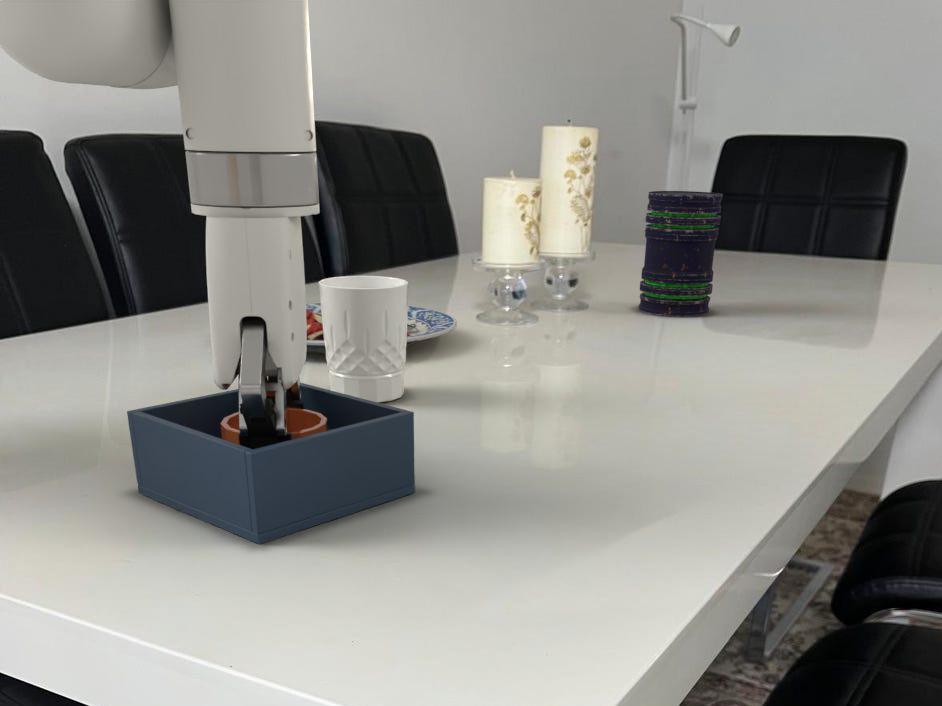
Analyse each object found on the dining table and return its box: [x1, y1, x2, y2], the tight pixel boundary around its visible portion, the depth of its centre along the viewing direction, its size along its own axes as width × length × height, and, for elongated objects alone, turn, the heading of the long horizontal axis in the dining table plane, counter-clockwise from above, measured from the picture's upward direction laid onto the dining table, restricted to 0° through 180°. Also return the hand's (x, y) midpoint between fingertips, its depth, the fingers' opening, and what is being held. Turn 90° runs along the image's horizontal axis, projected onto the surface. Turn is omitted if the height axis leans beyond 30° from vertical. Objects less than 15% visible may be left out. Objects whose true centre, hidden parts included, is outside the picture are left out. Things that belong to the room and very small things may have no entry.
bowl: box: [221, 408, 328, 445], centre depth 66 cm, size 7×7×4 cm
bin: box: [126, 382, 416, 545], centre depth 66 cm, size 13×13×6 cm
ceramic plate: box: [306, 302, 458, 355], centre depth 115 cm, size 26×26×3 cm
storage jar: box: [638, 190, 724, 318], centre depth 135 cm, size 10×10×15 cm
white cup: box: [318, 275, 409, 403], centre depth 90 cm, size 8×8×10 cm
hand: (277, 474), depth 67 cm, fingers closed on bowl, 6 cm apart
